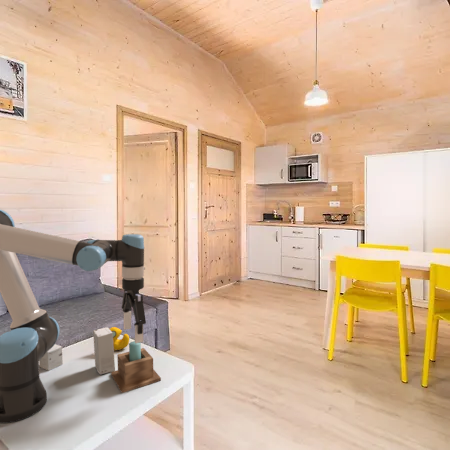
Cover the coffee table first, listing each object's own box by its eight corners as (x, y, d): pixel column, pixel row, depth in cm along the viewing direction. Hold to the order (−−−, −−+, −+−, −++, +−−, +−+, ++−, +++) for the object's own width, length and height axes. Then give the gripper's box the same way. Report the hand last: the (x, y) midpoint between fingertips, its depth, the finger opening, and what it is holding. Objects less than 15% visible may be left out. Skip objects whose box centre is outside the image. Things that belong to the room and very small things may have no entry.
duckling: (101, 354, 138) (100, 331, 137) (102, 348, 143) (102, 326, 143) (129, 350, 141) (128, 328, 140) (129, 345, 146) (129, 323, 146)
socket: (121, 393, 110) (121, 370, 109) (111, 374, 122) (110, 353, 121) (160, 380, 118) (160, 359, 117) (147, 364, 129) (146, 344, 129)
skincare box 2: (115, 371, 124) (114, 333, 123) (98, 375, 121) (97, 336, 120) (109, 362, 131) (108, 326, 130) (93, 366, 128) (92, 329, 127)
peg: (131, 379, 117) (131, 346, 116) (128, 374, 120) (127, 342, 119) (142, 376, 119) (142, 344, 118) (139, 371, 122) (138, 340, 121)
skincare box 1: (48, 371, 124) (47, 352, 124) (39, 367, 127) (38, 348, 127) (63, 364, 130) (62, 346, 129) (53, 360, 133) (53, 343, 132)
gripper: (155, 284, 109) (155, 346, 110) (132, 270, 129) (132, 322, 131) (133, 286, 105) (133, 351, 106) (113, 271, 125) (113, 325, 127)
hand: (132, 335), depth 118 cm, fingers open, 13 cm apart
